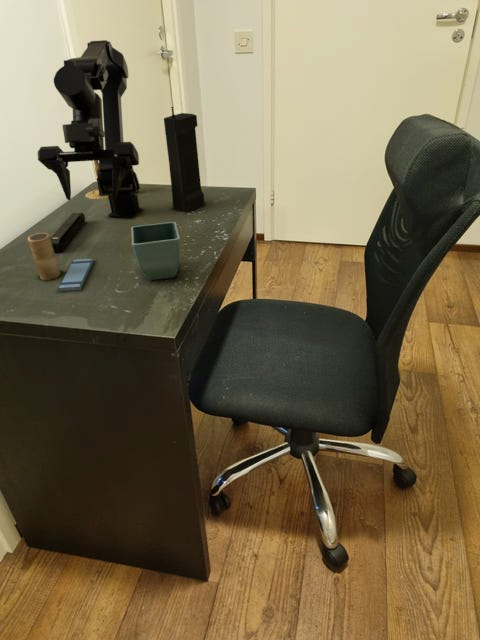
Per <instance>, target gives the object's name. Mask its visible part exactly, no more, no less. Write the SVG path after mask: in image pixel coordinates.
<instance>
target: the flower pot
mask: <svg viewBox="0 0 480 640" xmlns="http://www.w3.org/2000/svg"><path fill="white" fill-rule="evenodd" d="M130 231H131V246H132V250H133V253H134V256H135V259H136V262H137V266H138V268H139V269H140V271H141V273H142V274H143V275H144V277H146V278H147V280H149V281H154V280H155V281H156V280H163V279H169V278H175V276H176V274H177V272H178V271H179V267H180V263H181V237H180V233H179V230H178V226H177V222H176V221H167V222H159V223H150V224H142V225H141V224H140V225H134V226H131V227H130Z"/></svg>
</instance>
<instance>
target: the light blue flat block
mask: <svg viewBox="0 0 480 640" xmlns="http://www.w3.org/2000/svg"><path fill="white" fill-rule="evenodd" d="M93 264H94V259H93V258H79V259H73V261H71V264H70V266H69V268H68V270H67V271H66V273H65V275H64V278H63V279H62V280H61V282H60V283H59V287H58V290H59V292H70V291H72V292H73V291H81V290H82V288H83V285H84V284H85V282H86V280H87V276H88V275H89V272H90V270H91V268H92V266H93Z"/></svg>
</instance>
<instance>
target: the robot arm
mask: <svg viewBox="0 0 480 640" xmlns="http://www.w3.org/2000/svg"><path fill="white" fill-rule="evenodd" d="M127 79H129V69H128V64H127V61H126V59H125V56H124V54H123V53H122V52H120V51H119V50H118V49H116V48H114V47H113V45H112V43H111V41H110V40H109V41H108V40H107V39H104V40H90V42H87V47H86V49H85V50H84V51H83V53H82V55H81V56H78V57H72V58H69V59H65V60H63V66H62V67H60V68H59V69H58V70H57V71H56V72H55V74H54V77H53V85H54V87H55V89H56V90H57V92H58V93H59V95H60V96H61V97H62V99H63V100H64V102H65V103H66V105H67V106H68V107H69V108H71V109H72V120H71V121H70V123H67V124H65V123H64V124H62V131H63V138H64V143H65V144H68V146H69V147H70V148H71V149H73V151H63V150H62V148H61V147H60V146H58V145H50V146H47V145H46V146H40V148H39V149H38V151H37V161H38V162H40V164H42V165H43V166H44V167H45V168H46V169H47V170H51V171H52V172H53V173H54V174H55V175H56V176H57V179H58V180H59V184H60V186H61V188H62V191H63V193H64V196H65V198H66V200H68V201H71V200H72V199H71V198H72V187H71V185H72V184H71V171H70V169H68V167H69V163H75V162H94V161H95V160H98V162H99V169H98V171H97V175H98V181H99V184H100V187H101V190H102V193H103V194H106V193H108V195H107V198H108V201H109V202H108V203H109V207H110V210H111V212H110V213H109V214H108V217H109V218H120V219H132V218H133V217H135V216H136V215H137V214H138V213H139V212H140V211H142V207H140V202H139V197H138V195H137V193H136V194H135V192H136V191H137V192H138V191H139V190H140V189H141V185H140V181H139V178H138V174H137V173H136V172H135V169H134V166H138V165H140V156H139V152H138V150H137V148H136V146H135V145H134V144H133V143H132V142H131V141H124V127H123V126H124V125H123V124H124V123H123V111H122V97H123V95H124V94H125V92H126V90H127V89H128V88H127V87H128V84H127V83H128V81H127ZM95 91H100V92H101V96H100V95H99V94H98V93H96V92H95Z"/></svg>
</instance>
